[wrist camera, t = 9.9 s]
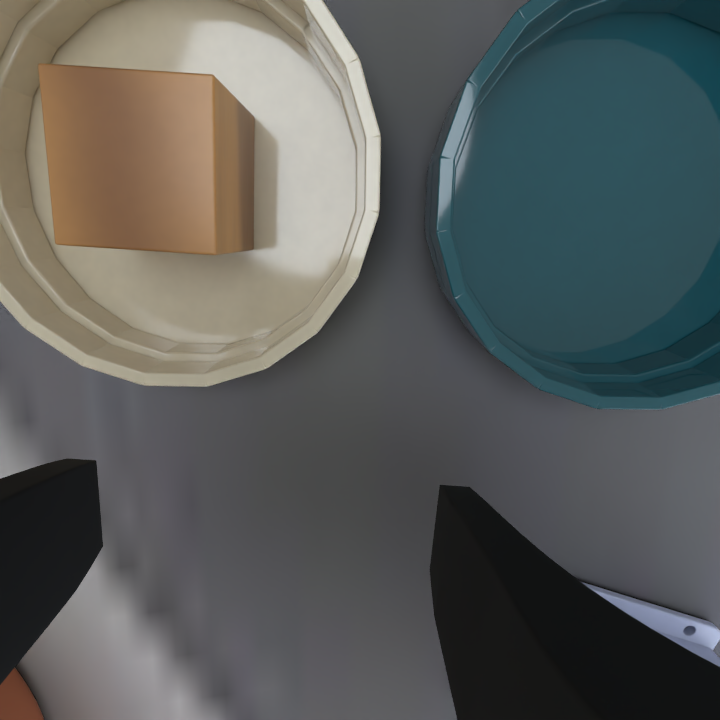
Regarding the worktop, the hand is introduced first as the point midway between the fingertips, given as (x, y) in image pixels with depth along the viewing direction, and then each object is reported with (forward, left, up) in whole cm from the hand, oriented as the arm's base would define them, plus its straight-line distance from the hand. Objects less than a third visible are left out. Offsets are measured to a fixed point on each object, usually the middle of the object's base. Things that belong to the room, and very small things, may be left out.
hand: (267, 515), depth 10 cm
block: (+6, -6, -9) cm, 12 cm away
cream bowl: (+6, -6, -9) cm, 12 cm away
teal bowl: (-8, -10, -9) cm, 16 cm away
